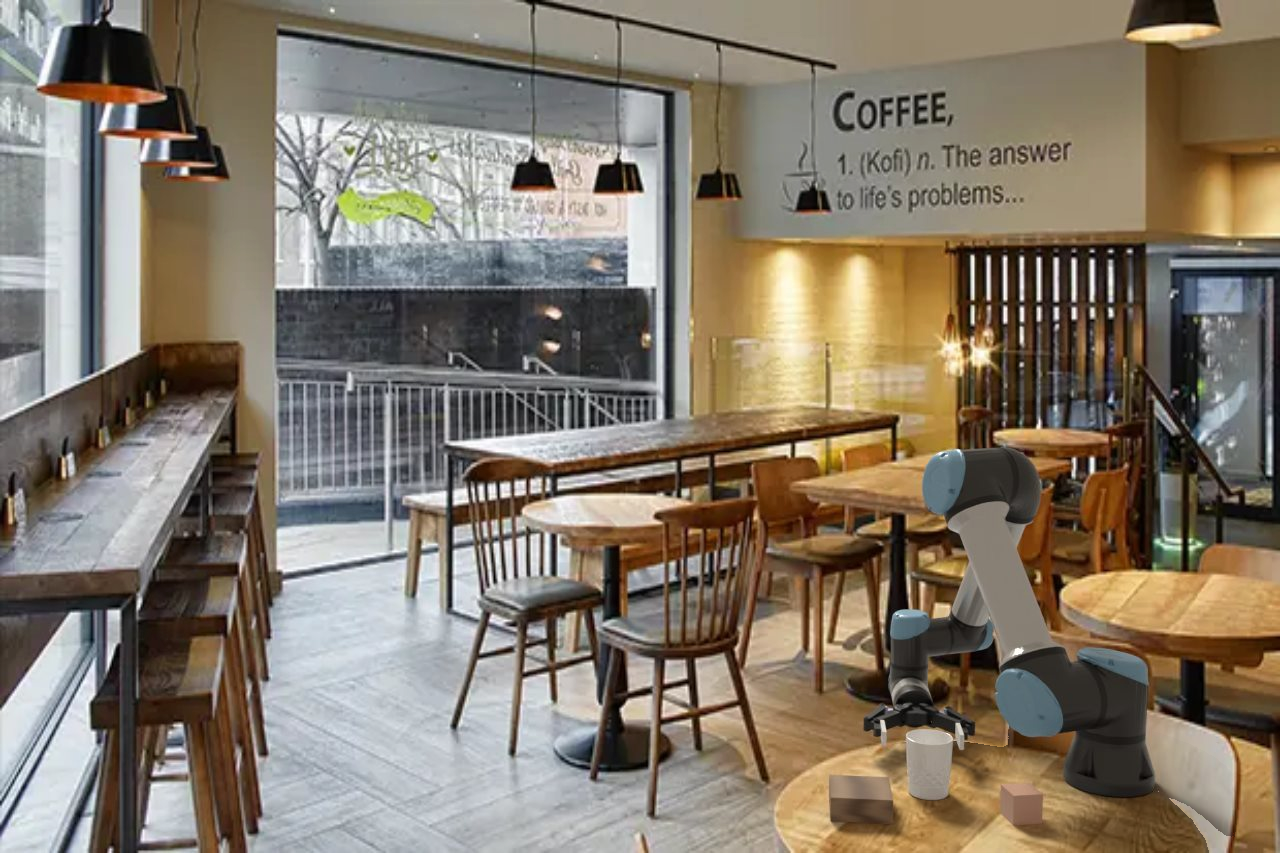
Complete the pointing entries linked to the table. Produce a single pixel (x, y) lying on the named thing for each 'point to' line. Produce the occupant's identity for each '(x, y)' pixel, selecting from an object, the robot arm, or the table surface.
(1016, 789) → the terracotta cube
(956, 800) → the table surface
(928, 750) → the white cup
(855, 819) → the walnut block
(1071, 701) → the robot arm
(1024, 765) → the table surface
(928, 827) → the table surface
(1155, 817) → the table surface
